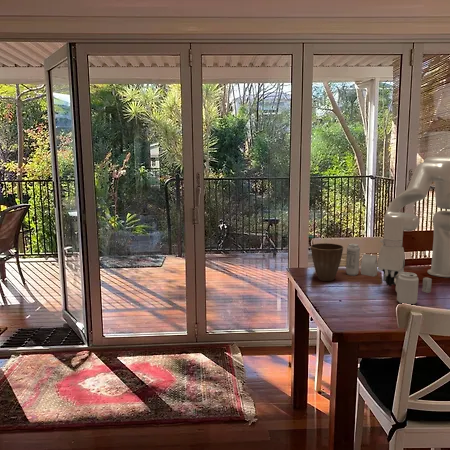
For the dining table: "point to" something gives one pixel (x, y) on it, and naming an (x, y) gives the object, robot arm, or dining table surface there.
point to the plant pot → (326, 260)
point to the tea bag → (369, 265)
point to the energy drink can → (352, 259)
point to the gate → (396, 281)
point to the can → (407, 288)
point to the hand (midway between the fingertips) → (389, 284)
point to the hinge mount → (385, 277)
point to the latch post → (427, 285)
